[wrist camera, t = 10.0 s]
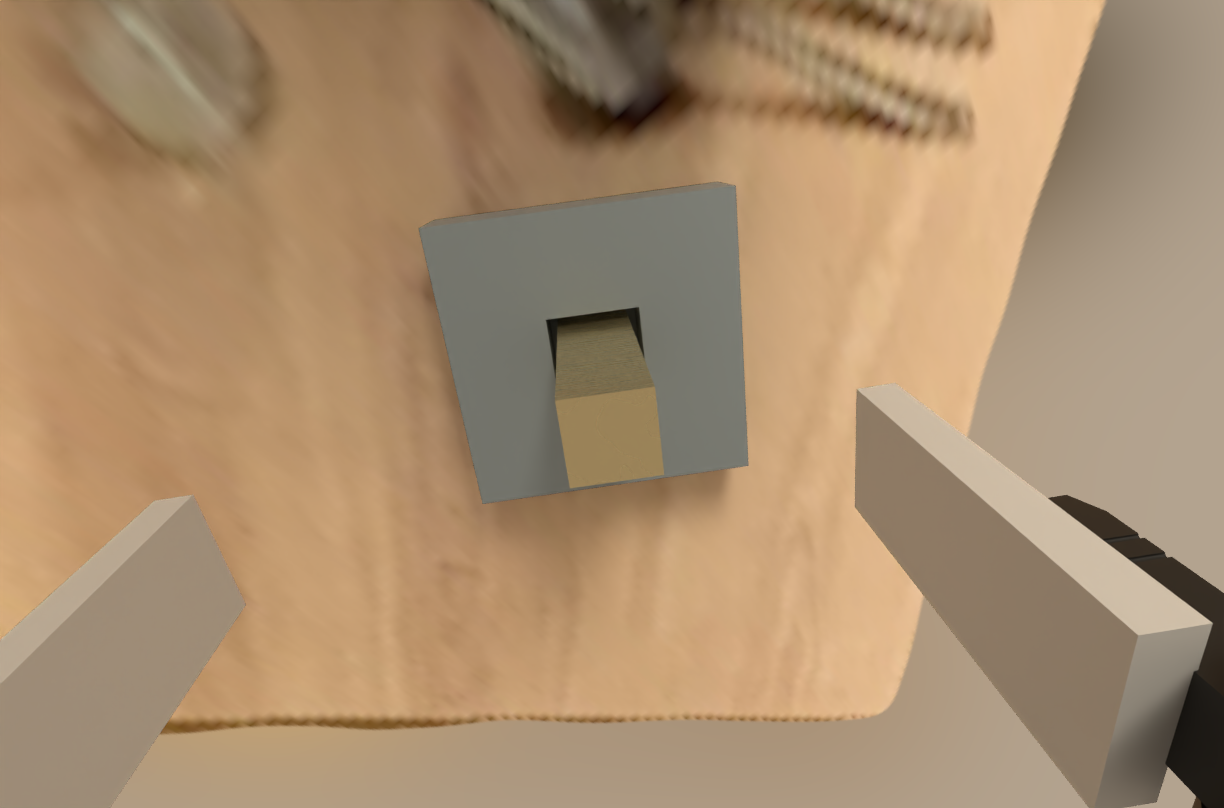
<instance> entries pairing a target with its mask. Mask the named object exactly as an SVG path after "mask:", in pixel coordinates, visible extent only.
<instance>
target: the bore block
mask: <svg viewBox="0 0 1224 808" xmlns="http://www.w3.org/2000/svg"><path fill="white" fill-rule="evenodd" d="M419 232H420V237H421V241H422V245H423V250H424V254H425V258H426V262H427V267H428V271H429V275H430V280H431V284H432V288H433V292H434V297H435V301H436V305H437V310H438V314H439V318H440V323H441V327H442V331H443V335H444V340H445V344H446V348H447V353H448V357H449V361H450V366H451V370H452V374H453V378H454V383H455V387H456V391H457V396H458V400H459V404H460V408H461V413H462V417H463V421H464V426H465V430H466V434H467V439H468V443H469V447H470V451H471V456H472V460H473V464H474V469H475V473H476V477H477V482H478V486H479V490H480V494H481V499H482V503H483V504H486V503H493V502H500V501H507V500H514V499H521V498H528V497H534V496H541V495H548V494H555V493H562V492H569V491H576V490H583V489H590V488H597V487H604V486H611V485H618V484H625V483H632V482H639V481H646V480H653V479H660V478H667V477H674V476H681V475H688V474H695V473H702V472H709V471H716V470H723V469H729V468H736V467H743V466H748V446H747V424H746V402H745V381H744V359H743V337H742V315H741V293H740V271H739V249H738V227H737V205H736V186H735V185H730V184H726V183H721V182H712V183H705V184H698V185H690V186H683V187H675V188H668V189H660V190H653V191H646V192H638V193H631V194H623V195H616V196H608V197H601V198H594V199H586V200H579V201H571V202H564V203H556V204H549V205H542V206H534V207H527V208H519V209H512V210H504V211H497V212H490V213H482V214H475V215H467V216H460V217H452V218H445V219H438V220H433V221H431V222H429V223H427V224H426V225H424V226H422V227H420V228H419ZM621 309H625V310H626V312H627V315H628V318H629V320H630V323H631V325H632V328H633V331H634V333H635V336H636V338H637V341H638V344H639V346H640V349H641V351H642V354H643V357H644V359H645V362H646V364H647V367H648V370H649V372H650V375H651V377H652V380H653V383H654V385H655V391H656V401H657V410H658V420H659V429H660V439H661V449H662V458H663V468H664V475H660V476H653V477H646V478H640V479H633V480H626V481H619V482H612V483H605V484H598V485H591V486H584V487H577V488H570V486H569V480H568V474H567V468H566V463H565V457H564V451H563V445H562V439H561V433H560V427H559V421H558V416H557V410H556V404H555V386H556V357H557V328H558V318H563V317H570V316H578V315H585V314H592V313H599V312H606V311H614V310H621Z"/></svg>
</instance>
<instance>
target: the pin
mask: <svg viewBox="0 0 1224 808" xmlns="http://www.w3.org/2000/svg"><path fill="white" fill-rule="evenodd" d="M555 404H556V410H557V416H558V421H559V427H560V433H561V439H562V445H563V451H564V457H565V463H566V468H567V474H568V480H569V486H570V488H577V487H584V486H591V485H598V484H605V483H612V482H619V481H626V480H633V479H640V478H646V477H653V476H660V475H664V468H663V458H662V449H661V439H660V429H659V420H658V410H657V401H656V391H655V385H654V383H653V380H652V377H651V375H650V372H649V370H648V367H647V364H646V362H645V359H644V357H643V354H642V351H641V349H640V346H639V344H638V341H637V338H636V336H635V333H634V331H633V328H632V325H631V323H630V320H629V318H628V315H627V312H626V310H625V309H621V310H614V311H606V312H599V313H592V314H585V315H578V316H570V317H563V318H558V328H557V357H556V386H555Z"/></svg>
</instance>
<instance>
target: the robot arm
mask: <svg viewBox="0 0 1224 808" xmlns="http://www.w3.org/2000/svg"><path fill="white" fill-rule="evenodd" d="M855 508H856V509H857V510H858V512H859V513H860V514H861V516H862V517H863V518H864V519H865V521H866V522H867V523H868V525H869V526H870V527H871V528H872V530H873V531H874V532H875V533H876V535H877V536H878V537H879V539H880V540H881V541H882V542H883V544H884V545H885V546H886V548H887V549H888V550H889V551H890V553H891V554H892V555H893V557H894V558H895V559H896V560H897V562H898V563H899V564H900V566H901V567H902V568H903V569H904V571H905V572H906V573H907V575H908V576H909V577H910V578H911V580H912V581H913V582H914V584H915V585H916V586H917V587H918V589H919V590H920V591H921V593H922V594H923V595H924V596H925V598H926V599H927V600H928V601H929V603H930V604H931V605H932V606H933V608H934V609H935V610H936V612H937V613H938V614H939V616H940V617H941V618H942V619H943V621H944V622H945V623H946V625H947V626H948V627H949V628H950V630H951V631H952V632H953V634H954V635H955V636H956V638H957V639H958V640H959V641H960V643H961V644H962V645H963V647H964V648H965V649H966V650H967V652H968V653H969V654H970V655H971V657H972V658H973V659H974V661H975V662H976V663H977V664H978V666H979V667H980V668H981V670H982V671H983V672H984V673H985V675H986V676H987V677H988V679H989V680H990V681H991V682H992V684H993V685H994V686H995V688H996V689H997V690H998V691H999V693H1000V694H1001V695H1002V697H1003V698H1004V699H1005V700H1006V702H1007V703H1008V704H1009V706H1010V707H1011V708H1012V709H1013V711H1014V712H1015V713H1016V715H1017V716H1018V717H1019V718H1020V720H1021V721H1022V722H1023V723H1024V725H1025V726H1026V727H1027V729H1028V730H1029V731H1030V732H1031V734H1032V735H1033V736H1034V738H1035V739H1036V740H1037V741H1038V743H1039V744H1040V745H1041V747H1042V748H1043V749H1044V750H1045V752H1046V753H1047V754H1048V756H1049V757H1050V758H1051V760H1052V761H1053V762H1054V763H1055V765H1056V766H1057V767H1058V768H1059V769H1060V771H1061V772H1062V774H1063V775H1064V776H1065V778H1066V779H1067V780H1068V781H1069V783H1070V784H1071V785H1072V786H1073V788H1074V789H1075V790H1076V792H1077V793H1078V794H1079V795H1080V797H1081V798H1082V799H1083V801H1084V802H1085V803H1086V804H1087V806H1088V807H1089V808H1124V807H1131V806H1136V805H1142V804H1149V803H1154V802H1157V798H1158V796H1159V793H1160V789H1161V786H1162V783H1163V780H1164V777H1165V774H1166V770H1167V767H1169V768H1170V769H1171V770H1172V771H1173V772H1174V773H1175V774H1176V775H1177V777H1178V778H1179V779H1180V780H1181V781H1182V782H1183V783H1184V784H1185V785H1186V786H1187V787H1188V788H1189V789H1190V790H1191V791H1192V792H1193V793H1194V794H1195V795H1196V799H1195V802H1194V805H1193V807H1192V808H1224V593H1223V592H1221V591H1220V590H1218V589H1217V588H1216V587H1214V586H1213V585H1211V584H1210V583H1208V582H1207V581H1206V580H1204V579H1203V578H1201V577H1200V576H1198V575H1197V574H1196V573H1194V572H1193V571H1191V570H1190V569H1188V568H1187V567H1186V566H1184V565H1183V564H1181V563H1180V562H1178V561H1177V560H1175V559H1174V558H1173V557H1168V558H1167V557H1166V555H1165V552H1164V551H1163V550H1161V549H1160V548H1158V547H1157V546H1155V545H1154V544H1153V543H1151V542H1150V541H1148V540H1147V539H1145V538H1141V539H1140V538H1139V536H1138V533H1137V532H1135V531H1134V530H1132V529H1131V528H1130V527H1128V526H1127V525H1125V524H1124V523H1122V522H1121V521H1120V520H1118V519H1117V518H1115V517H1114V516H1112V515H1111V514H1110V513H1108V512H1107V511H1104V510H1102V509H1100V508H1097V507H1095V506H1092V505H1090V504H1087V503H1085V502H1082V501H1080V500H1078V499H1075V498H1073V497H1070V496H1068V495H1063V496H1057V497H1051V498H1047V497H1045V496H1044V495H1043V494H1041V493H1040V492H1039V491H1037V490H1036V489H1035V488H1033V487H1032V486H1031V485H1029V484H1028V483H1027V482H1025V481H1024V480H1023V479H1021V478H1020V477H1019V476H1017V475H1016V474H1015V473H1013V472H1012V471H1011V470H1009V469H1008V468H1007V467H1006V466H1004V465H1003V464H1002V463H1000V462H999V461H997V460H996V459H995V458H994V457H992V456H991V455H989V454H988V453H987V452H986V451H984V450H983V449H982V448H980V447H979V446H978V445H976V444H975V443H974V442H972V441H971V440H970V439H969V438H967V437H966V436H965V435H963V434H962V433H961V432H959V431H958V430H957V429H955V428H954V427H953V426H951V425H950V424H949V423H947V422H946V421H945V420H943V419H942V418H941V417H939V416H938V415H937V414H935V413H934V412H933V411H932V410H930V409H929V408H928V407H926V406H925V405H924V404H922V403H921V402H920V401H918V400H917V399H916V398H914V397H913V396H912V395H910V394H909V393H908V392H906V391H905V390H904V389H902V388H901V387H900V386H898V385H897V384H896V383H891V384H885V385H879V386H872V387H866V388H860V389H857V401H856V460H855ZM245 605H246V604H245V602H244V600H243V598H242V596H241V593H240V591H239V589H238V587H237V585H236V583H235V581H234V579H233V577H232V575H231V573H230V570H229V568H228V566H227V564H226V562H225V560H224V558H223V556H222V554H221V552H220V550H219V547H218V545H217V543H216V541H215V539H214V537H213V535H212V533H211V531H210V529H209V527H208V524H207V522H206V520H205V518H204V516H203V514H202V512H201V510H200V508H199V506H198V504H197V501H196V499H195V497H194V495H188V496H181V497H175V498H169V499H162V500H156V501H153V502H152V503H151V504H150V505H149V506H148V507H147V508H146V509H144V510H143V511H142V512H141V513H140V514H139V515H138V516H137V517H136V518H135V519H133V520H132V521H131V522H130V523H129V524H128V525H127V526H126V527H125V528H123V529H122V530H121V531H120V532H119V533H118V534H117V535H116V536H115V537H114V538H112V539H111V540H110V541H109V542H108V543H107V544H106V545H105V546H104V547H102V548H101V549H100V550H99V551H98V552H97V553H96V554H95V555H94V556H92V557H91V558H90V559H89V560H88V561H87V562H86V563H85V564H84V565H83V566H81V567H80V568H79V569H78V570H77V571H76V572H75V573H74V574H73V575H71V576H70V577H69V578H68V579H67V580H66V581H65V582H64V583H63V584H62V585H60V586H59V587H58V588H57V589H56V590H55V591H54V592H53V593H52V594H50V595H49V596H48V597H47V598H46V599H45V600H44V601H43V602H42V603H41V604H39V605H38V606H37V607H36V608H35V609H34V610H33V611H32V612H31V613H29V614H28V615H27V616H26V617H25V618H24V619H23V620H22V621H21V622H19V623H18V624H17V625H16V626H15V627H14V628H13V629H12V630H11V631H10V632H8V633H7V634H6V635H5V636H4V637H3V638H2V639H1V640H0V808H110V807H111V806H112V804H113V803H114V801H115V800H116V798H117V797H118V795H119V794H120V792H121V791H122V789H123V788H124V786H125V785H126V783H127V782H128V780H129V779H130V777H131V776H132V774H133V773H134V771H135V770H136V768H137V767H138V765H139V764H140V762H141V761H142V759H143V758H144V756H145V755H146V753H147V752H148V750H149V749H150V747H151V746H152V744H153V743H154V741H155V740H156V738H157V737H158V735H159V734H160V733H161V731H162V730H163V728H164V727H165V725H166V724H167V722H168V721H169V719H170V718H171V716H172V715H173V713H174V712H175V710H176V709H177V707H178V706H179V704H180V703H181V701H182V700H183V698H184V697H185V695H186V694H187V692H188V691H189V689H190V688H191V686H192V685H193V683H194V682H195V680H196V679H197V677H198V676H199V674H200V673H201V671H202V670H203V668H204V667H205V665H206V664H207V662H208V661H209V659H210V658H211V656H212V655H213V653H214V652H215V650H216V649H217V647H218V646H219V644H220V643H221V641H222V640H223V638H224V637H225V635H226V634H227V632H228V631H229V629H230V628H231V626H232V625H233V623H234V622H235V620H236V619H237V617H238V616H239V614H240V613H241V611H242V610H243V608H244V607H245Z"/></svg>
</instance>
